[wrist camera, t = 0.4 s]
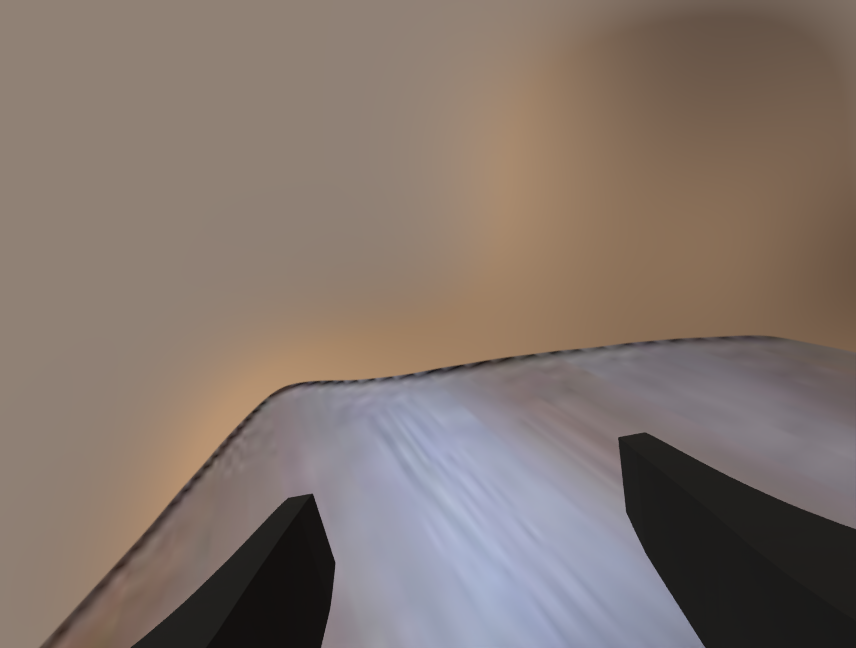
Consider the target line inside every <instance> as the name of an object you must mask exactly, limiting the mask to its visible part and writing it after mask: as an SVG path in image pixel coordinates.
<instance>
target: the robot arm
mask: <svg viewBox="0 0 856 648" xmlns="http://www.w3.org/2000/svg"><path fill="white" fill-rule="evenodd" d="M618 440H619V449H620V459H621V468H622V477H623V486H624V496H625V505H626V513H627V515H628V517H629V519H630V521H631V523H632V526H633V528H634V530H635V532H636V534H637V536H638V538H639V540H640V542H641V544H642V546H643V549H644V551H645V553H646V554H647V556H648V558H649V559H650V561H651V563H652V564H653V566H654V567H655V569H656V571H657V572H658V574H659V575H660V577H661V579H662V580H663V582H664V583H665V585H666V587H667V588H668V590H669V591H670V593H671V594H672V596H673V598H674V599H675V601H676V602H677V604H678V605H679V607H680V609H681V610H682V612H683V613H684V615H685V616H686V618H687V620H688V621H689V623H690V624H691V626H692V627H693V629H694V631H695V632H696V634H697V635H698V637H699V638H700V640H701V642H702V643H703V645H704V646H705V648H856V529H854V528H851V527H848V526H845V525H842V524H839V523H837V522H834V521H832V520H829V519H826V518H824V517H821V516H818V515H816V514H813V513H811V512H808V511H805V510H803V509H800V508H798V507H795V506H793V505H791V504H788V503H786V502H783V501H781V500H779V499H777V498H774V497H772V496H770V495H768V494H765V493H763V492H761V491H759V490H757V489H754V488H752V487H750V486H748V485H746V484H744V483H742V482H740V481H738V480H735V479H733V478H731V477H729V476H727V475H725V474H723V473H721V472H719V471H717V470H716V469H714V468H712V467H710V466H708V465H706V464H704V463H702V462H700V461H698V460H696V459H695V458H693V457H691V456H689V455H687V454H685V453H683V452H682V451H680V450H678V449H676V448H674V447H672V446H670V445H669V444H667V443H665V442H663V441H661V440H659V439H657V438H656V437H654V436H652V435H650V434H647V433H639V434H634V435H628V436H623V437H618ZM334 572H335V560H334V557H333V554H332V551H331V548H330V545H329V542H328V539H327V536H326V532H325V529H324V526H323V523H322V520H321V517H320V514H319V511H318V508H317V505H316V502H315V499H314V496H313V494H307V495H302V496H297V497H291V498H288V499H287V500H285V501H284V502H283V503H282V504H281V505H280V506H279V507H278V508H277V509H276V510H275V511H274V512H273V513H272V514H271V515H270V516H269V517H268V518H267V520H266V521H265V522H264V523H263V524H262V525H261V526H260V527H259V528H258V529H257V530H256V531H255V532H254V533H253V534H252V535H251V536H250V537H249V539H248V540H247V541H246V542H245V543H244V544H243V545H242V546H241V547H240V548H239V549H238V550H237V551H236V552H235V553H234V554H233V555H232V556H231V557H230V558H229V559H228V560H227V561H226V562H225V563H224V564H223V565H222V566H221V567H220V568H219V569H218V570H217V571H216V572H215V573H214V574H213V575H212V576H211V577H210V578H209V579H208V580H207V581H206V582H205V583H204V584H203V585H202V586H201V587H200V588H199V589H198V590H197V591H196V592H195V593H193V594H192V595H191V596H190V597H189V598H188V599H187V600H186V601H185V602H184V603H183V604H182V605H181V606H179V607H178V608H177V609H176V610H175V611H174V612H173V613H172V614H170V615H169V616H168V617H167V618H166V619H165V620H163V621H162V622H161V623H160V624H159V625H158V626H156V627H155V628H154V629H153V630H152V631H150V632H149V633H148V634H147V635H146V636H144V637H143V638H142V639H141V640H140V641H138V642H137V643H136V644H135V645H133V646H132V647H131V648H321V645H322V641H323V637H324V633H325V628H326V624H327V620H328V616H329V611H330V606H331V599H332V591H333V582H334Z"/></svg>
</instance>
